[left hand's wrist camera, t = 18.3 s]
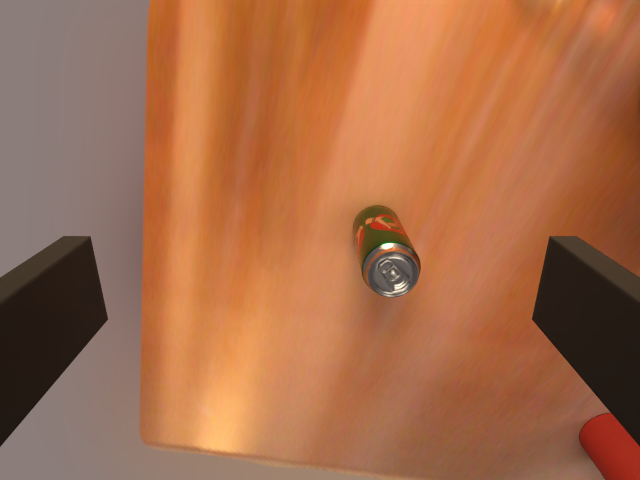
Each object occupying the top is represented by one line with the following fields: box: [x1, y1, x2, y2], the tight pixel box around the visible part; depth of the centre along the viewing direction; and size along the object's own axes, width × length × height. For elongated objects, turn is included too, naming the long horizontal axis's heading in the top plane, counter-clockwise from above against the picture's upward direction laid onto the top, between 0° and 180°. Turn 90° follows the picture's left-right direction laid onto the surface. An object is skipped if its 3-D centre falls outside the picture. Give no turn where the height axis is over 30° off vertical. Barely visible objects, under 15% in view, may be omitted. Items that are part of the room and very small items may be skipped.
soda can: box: [353, 206, 421, 297], centre depth 41 cm, size 5×5×12 cm
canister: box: [579, 413, 640, 480], centre depth 52 cm, size 7×7×13 cm
